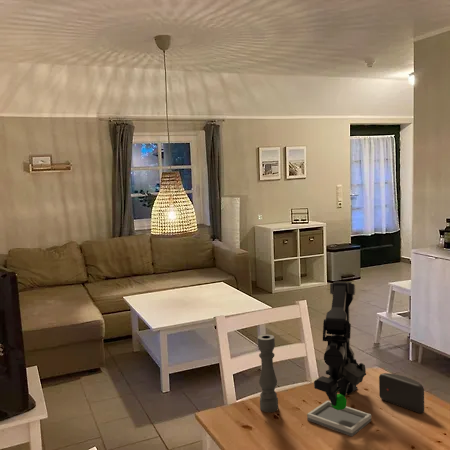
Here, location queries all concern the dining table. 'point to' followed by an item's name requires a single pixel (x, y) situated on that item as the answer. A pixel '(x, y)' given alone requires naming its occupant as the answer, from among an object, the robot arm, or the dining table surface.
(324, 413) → the tray
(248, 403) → the dining table surface
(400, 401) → the leaning round-cornered charcoal block
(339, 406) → the polyhedron
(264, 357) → the candle holder
